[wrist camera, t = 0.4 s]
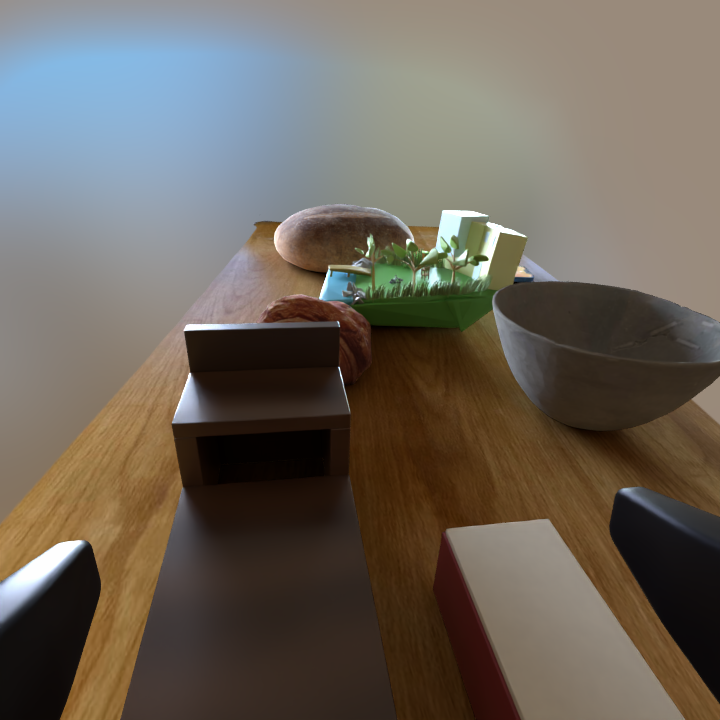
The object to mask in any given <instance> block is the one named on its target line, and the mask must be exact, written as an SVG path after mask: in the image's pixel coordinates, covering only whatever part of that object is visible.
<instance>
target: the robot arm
mask: <svg viewBox="0 0 720 720" xmlns="http://www.w3.org/2000/svg"><path fill="white" fill-rule="evenodd" d="M609 529H610V535H611V538H612V540H613V542H614V544H615V545H616V547H617V549H618V551H619V552H620V554H621V556H622V557H623V559H624V561H625V562H626V564H627V566H628V567H629V569H630V571H631V572H632V574H633V576H634V577H635V579H636V581H637V583H638V584H639V586H640V588H641V589H642V591H643V593H644V594H645V596H646V598H647V599H648V601H649V603H650V604H651V606H652V608H653V609H654V611H655V613H656V614H657V616H658V617H659V619H660V621H661V622H662V624H663V625H664V627H665V628H666V629H667V631H668V632H669V634H670V635H671V637H672V638H673V640H674V641H675V642H676V644H677V645H678V647H679V648H680V649H681V651H682V652H683V654H684V655H685V656H686V658H687V659H688V661H689V662H690V663H691V665H692V666H693V668H694V669H695V670H696V672H697V673H698V675H699V676H700V677H701V679H702V680H703V681H704V683H705V684H706V686H707V687H708V688H709V690H710V691H711V693H712V694H713V695H714V697H715V698H716V700H717V701H718V702H719V704H720V517H718V516H716V515H713V514H711V513H708V512H706V511H703V510H700V509H698V508H695V507H693V506H690V505H688V504H685V503H683V502H680V501H677V500H675V499H672V498H670V497H667V496H665V495H662V494H660V493H657V492H655V491H652V490H649V489H647V488H644V487H632V488H622V489H620V490H618V492H617V493H616V495H615V499H614V504H613V510H612V515H611V520H610V525H609ZM100 591H101V581H100V576H99V572H98V568H97V564H96V561H95V557H94V553H93V549H92V546H91V544H90V543H89V542H88V541H85V540H80V541H70V542H62V543H59V544H57V545H55V546H53V547H52V548H50V549H49V550H48V551H46V552H45V553H43V554H42V555H40V556H39V557H37V558H36V559H34V560H33V561H31V562H30V563H28V564H27V565H25V566H24V567H22V568H21V569H19V570H18V571H17V572H15V573H14V574H12V575H11V576H9V577H8V578H6V579H5V580H3V581H2V582H0V720H60V717H61V715H62V712H63V710H64V707H65V704H66V702H67V699H68V696H69V693H70V690H71V687H72V684H73V681H74V678H75V675H76V671H77V668H78V665H79V662H80V658H81V655H82V652H83V649H84V645H85V642H86V639H87V636H88V632H89V629H90V626H91V623H92V619H93V616H94V613H95V610H96V606H97V603H98V600H99V596H100Z"/></svg>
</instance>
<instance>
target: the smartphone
mask: <svg viewBox="0 0 720 720" xmlns="http://www.w3.org/2000/svg"><path fill="white" fill-rule="evenodd" d="M533 279H534V276H533V275H532V274H531V273H530V272H529V271H528V270H527V269H526V268H525V267H522V266H518V268H517V271H516V275H515V279H514V281H515V282H532V281H533Z"/></svg>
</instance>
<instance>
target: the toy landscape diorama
mask: <svg viewBox="0 0 720 720" xmlns="http://www.w3.org/2000/svg"><path fill="white" fill-rule="evenodd" d="M488 220H489V216H487V215H483V214H479V213H476V212H472V211H442V217H441V222H440V227H439V233H438V239H437V244H436V248H433V249H432V250H431V251H430V252H428V251H422V249H421V258H420V252H419V253H418V247H417V245H416V244H414V243H413V242H412V241H411V240H410V239H407V248H406V249H408V250H407V252H406V251H405V250H404V249H403V248H401V246H398V245H396V244H395V243H392V246H393V249H394V251H392V249H391V251H389V249H390V248H387V249H388V250H386V248H385V250H381V253H380V254H379V253H378V252H379V249H380V248H378V252H374V250H375V242H374V239H373V237H372V235H371V233H370V238H369V237H368V246H369V250H368V252H366V251H364V252H366V253H367V254H366V255H365V256H366V257H368V258H370V257H371V256H372V257H371V261H369V260H367V259H366V258H362V259H361V260H359V261H358V260H356V261H353V263H352V265H328V267H329V270H328V272H327V275H326V279H325V282H324V285H323V288H322V291H321V295H320V298H319V299H321V300H324V301H327V302H328V301H339V302H343V303H345V304H347V305H349V306H350V307H352V308H353V309H354V310H355V311H357V312H358V313H360V314H362V315H363V316H364V317H365V318H366V319H367V321H368V322H369V323H370V325H376V326H410V327H444V328H457V327H458V326H459V328H460V330H461V332H462V331H463V330H465V329H466V328H468V327H469V326H470V325H472V324H473V323H474V322H476V321H477V320H479V319H480V318H481V317H483V316H484V315H486V314H487V313H488V312H490V311H491V310H492V309H493V305H492V300H493V296H494V294H495V293H496V292H497V291H498V290H500V289H502V288H504V287H506V286H509V285H513V282H514V279H515V275H516V271H517V268H518V265H519V262H520V259H521V257H522V254H523V251H524V247H525V245H526V242H527V239H528V238H527V237H526V236H524V235H522V234H520V233H518V232H515V231H513V230H511V229H505V228H502V226H499V225H495V224H492V223H488ZM388 247H389V246H388ZM390 247H391V246H390ZM355 250H357V251H358V252H359V253H361V254H364V253H363V250H361V249H359V248H355ZM408 251H409V252H408ZM416 251H417V255H416V256H415V253H416ZM419 251H420V249H419ZM413 252H415V253H413ZM422 252H423V253H424V254H426V255H427V256H425V258H423V259H424V260H423V261H422V257H423V256H422ZM438 252H441V253H438ZM374 253H375V259H376V260H375V261H374ZM394 253H395V254H394ZM411 253H413V254H411ZM378 254H379V257H378ZM389 255H390V256H389ZM416 257H417V258H416ZM401 259H402V260H401ZM415 259H416V260H415ZM439 259H442V262H439V261H438V260H439ZM386 261H387V262H386ZM399 262H400V263H399ZM438 263H439V264H438ZM434 264H435V265H434Z"/></svg>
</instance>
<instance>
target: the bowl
mask: <svg viewBox="0 0 720 720" xmlns="http://www.w3.org/2000/svg"><path fill="white" fill-rule="evenodd" d="M492 305H493V311H494V316H495V320H496V324H497V328H498V332H499V336H500V340H501V344H502V347H503V351H504V354H505V357H506V360H507V362H508V365H509V367H510V369H511V371H512V373H513V375H514V377H515V379H516V380H517V382H518V384H519V385H520V387H521V388H522V389H523V391H524V392H525V393H526V395H527V396H528V397H529V399H530V400H531V401H532V402H533V403H534V404H535V405H536V406H537V407H538V408H539V409H540V410H542V411H543V412H544V413H545V414H547V415H548V416H549V417H551V418H553V419H555V420H557V421H559V422H561V423H563V424H566V425H568V426H571V427H575V428H581V429H587V430H595V431H613V430H621V429H627V428H631V427H636V426H639V425H642V424H645V423H648V422H650V421H653V420H655V419H657V418H659V417H662V416H664V415H666V414H668V413H670V412H672V411H674V410H675V409H677V408H679V407H680V406H682V405H683V404H685V403H686V402H688V401H689V400H690V399H692V398H693V397H694V396H696V395H697V394H698V393H700V392H701V391H702V390H704V389H705V388H706V387H708V386H709V385H710V384H712V383H713V382H714V381H715V380H716V379H717V378H718V377H719V376H720V322H718V321H716V320H714V319H712V318H710V317H708V316H706V315H703V314H701V313H698V312H695V311H692V310H690V309H689V308H686V307H681V306H679V305H678V304H675V303H673V302H670V301H668V300H665V299H662V298H658V297H655V296H652V295H649V294H645V293H642V292H639V291H636V290H630V289H625V288H619V287H613V286H606V285H598V284H590V283H579V282H560V281H548V282H523V283H518V284H514V285H509V286H506V287H504V288H502V289H500V290H498V291H497V292H496V293H495V294H494V296H493V300H492Z"/></svg>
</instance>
